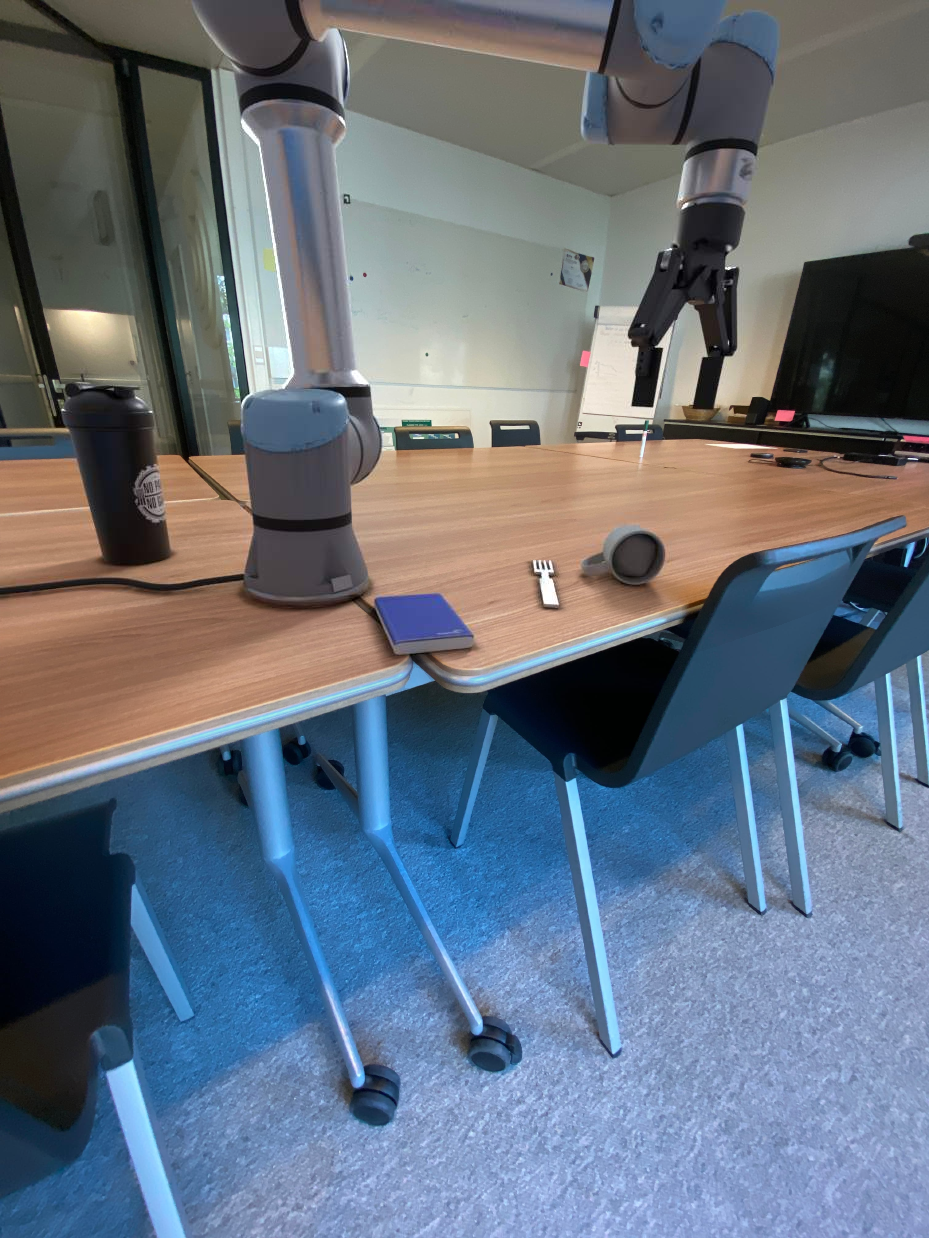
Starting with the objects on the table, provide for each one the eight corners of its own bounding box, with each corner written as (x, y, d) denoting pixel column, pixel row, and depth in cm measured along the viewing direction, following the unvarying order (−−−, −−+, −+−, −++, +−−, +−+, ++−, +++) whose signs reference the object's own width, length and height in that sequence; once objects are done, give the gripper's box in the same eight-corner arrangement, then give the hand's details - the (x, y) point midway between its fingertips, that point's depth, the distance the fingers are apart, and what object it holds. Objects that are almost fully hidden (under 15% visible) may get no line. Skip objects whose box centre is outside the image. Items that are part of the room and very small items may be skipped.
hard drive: (474, 633, 54) (441, 592, 64) (394, 640, 51) (373, 596, 62) (473, 647, 54) (441, 604, 65) (394, 655, 52) (374, 609, 63)
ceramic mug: (645, 569, 82) (653, 519, 79) (661, 586, 75) (670, 532, 72) (576, 566, 83) (581, 517, 80) (585, 583, 75) (591, 530, 72)
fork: (539, 607, 66) (540, 603, 65) (532, 562, 83) (532, 559, 83) (562, 608, 65) (562, 604, 65) (550, 563, 83) (550, 560, 83)
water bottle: (154, 568, 72) (118, 384, 63) (79, 565, 72) (32, 380, 63) (190, 548, 82) (163, 386, 73) (124, 545, 82) (89, 382, 73)
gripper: (677, 170, 51) (639, 407, 59) (793, 226, 65) (750, 411, 74) (614, 190, 57) (587, 404, 65) (734, 238, 71) (700, 409, 79)
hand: (673, 408), depth 69 cm, fingers open, 13 cm apart
